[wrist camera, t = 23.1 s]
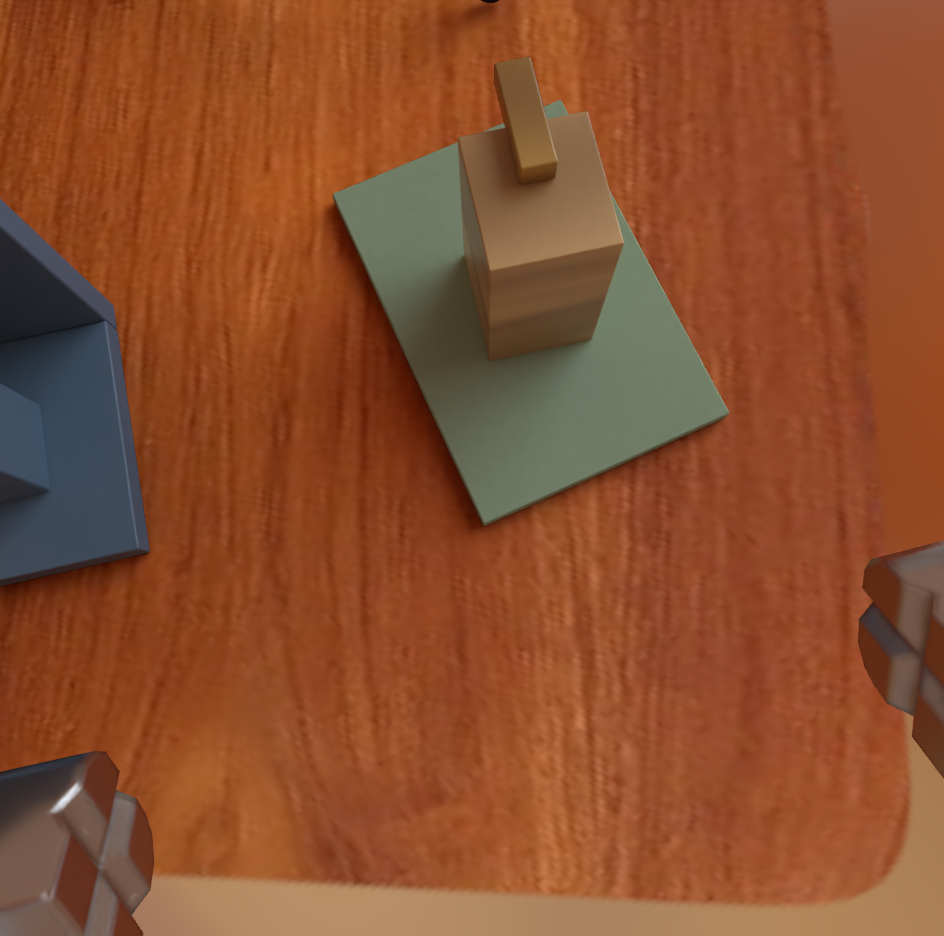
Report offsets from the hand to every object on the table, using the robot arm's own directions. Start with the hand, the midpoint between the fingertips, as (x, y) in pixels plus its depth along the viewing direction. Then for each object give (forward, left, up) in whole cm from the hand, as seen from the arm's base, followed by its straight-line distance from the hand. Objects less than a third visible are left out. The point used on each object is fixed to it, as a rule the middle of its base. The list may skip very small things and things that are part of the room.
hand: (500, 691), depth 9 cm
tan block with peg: (+11, -6, -18) cm, 22 cm away
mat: (+11, -6, -19) cm, 23 cm away
